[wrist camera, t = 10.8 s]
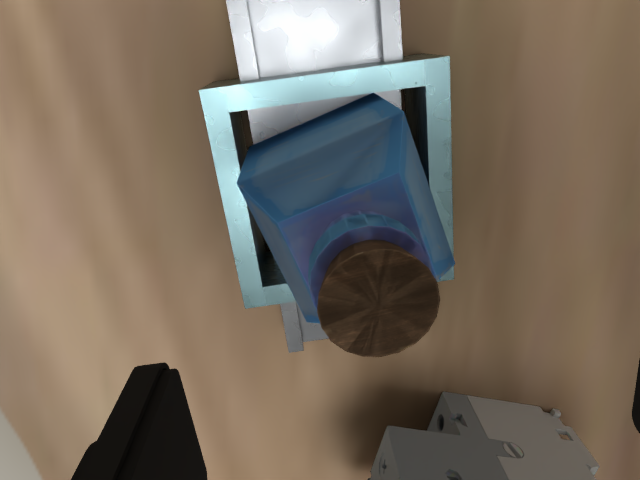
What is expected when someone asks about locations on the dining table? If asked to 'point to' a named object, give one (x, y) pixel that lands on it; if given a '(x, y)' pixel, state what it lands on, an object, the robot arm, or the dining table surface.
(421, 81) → the pale teal rectangular frame
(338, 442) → the dining table surface
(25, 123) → the dining table surface
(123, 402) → the robot arm
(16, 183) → the dining table surface
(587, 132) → the dining table surface
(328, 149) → the perfume bottle
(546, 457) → the circuit breaker
